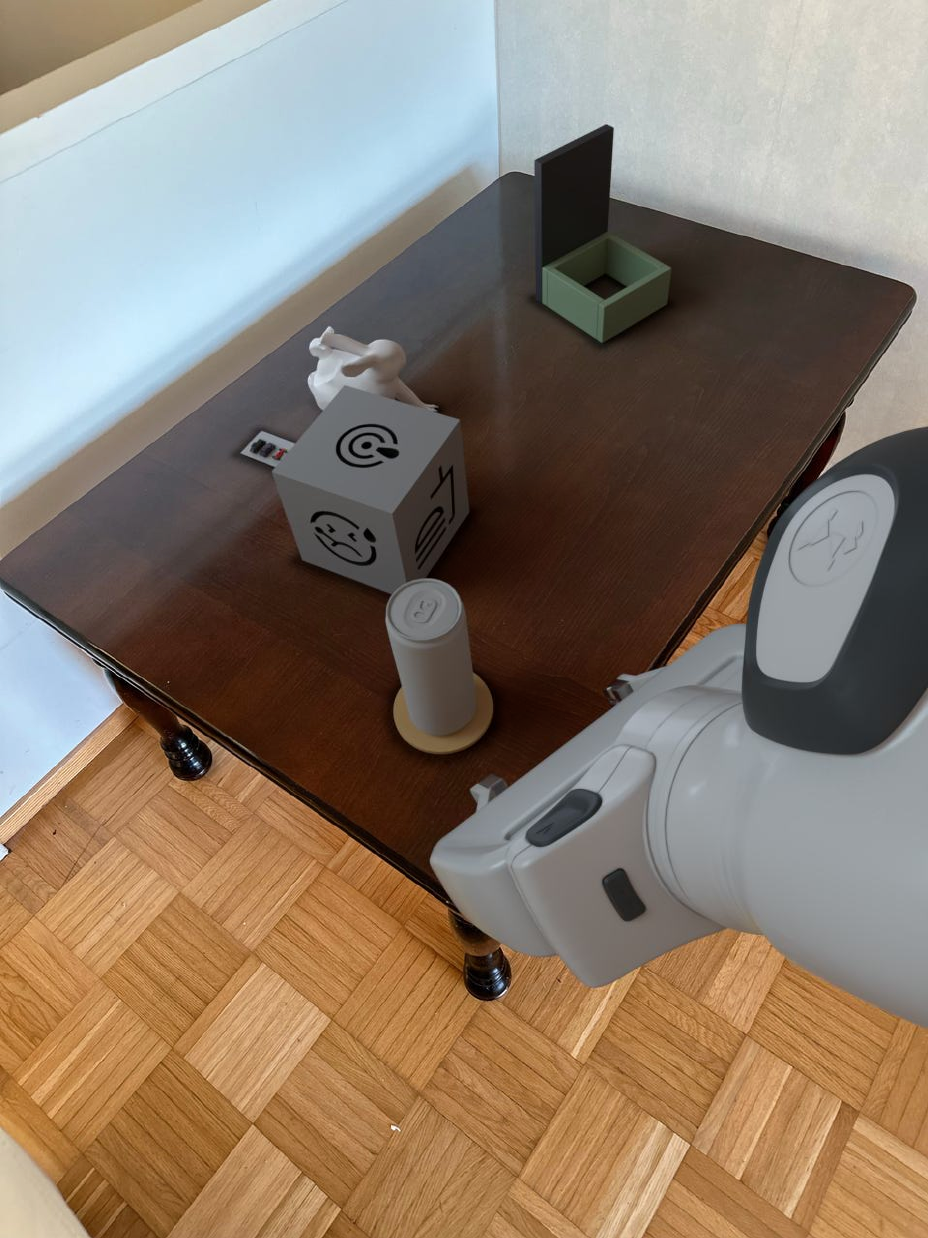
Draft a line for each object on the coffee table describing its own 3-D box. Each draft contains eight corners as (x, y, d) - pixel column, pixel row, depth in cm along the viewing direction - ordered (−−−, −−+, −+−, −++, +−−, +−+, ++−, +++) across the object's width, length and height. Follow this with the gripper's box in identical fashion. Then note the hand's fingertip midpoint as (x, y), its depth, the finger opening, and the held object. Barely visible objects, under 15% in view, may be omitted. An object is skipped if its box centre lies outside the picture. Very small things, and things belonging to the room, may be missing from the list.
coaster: (495, 668, 65) (495, 665, 65) (490, 756, 61) (490, 753, 61) (400, 666, 66) (399, 663, 66) (388, 753, 62) (387, 750, 62)
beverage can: (487, 692, 64) (477, 590, 54) (459, 749, 61) (442, 652, 52) (426, 671, 65) (406, 567, 55) (396, 725, 63) (369, 627, 53)
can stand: (667, 304, 88) (685, 162, 77) (602, 343, 85) (610, 202, 74) (598, 263, 93) (606, 123, 82) (535, 298, 90) (534, 159, 79)
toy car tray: (261, 430, 82) (259, 424, 81) (333, 458, 79) (332, 452, 78) (240, 453, 80) (237, 446, 80) (312, 482, 77) (311, 475, 77)
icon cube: (469, 511, 74) (460, 419, 66) (410, 601, 69) (392, 513, 61) (365, 476, 78) (344, 384, 69) (302, 560, 73) (271, 471, 65)
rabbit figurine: (441, 409, 82) (429, 318, 74) (399, 463, 78) (382, 374, 70) (330, 374, 86) (308, 285, 78) (285, 425, 82) (257, 336, 74)
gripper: (852, 595, 39) (665, 592, 52) (483, 892, 33) (373, 805, 46) (906, 714, 41) (711, 683, 53) (562, 1020, 34) (435, 901, 47)
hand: (553, 741), depth 50 cm, fingers open, 8 cm apart
